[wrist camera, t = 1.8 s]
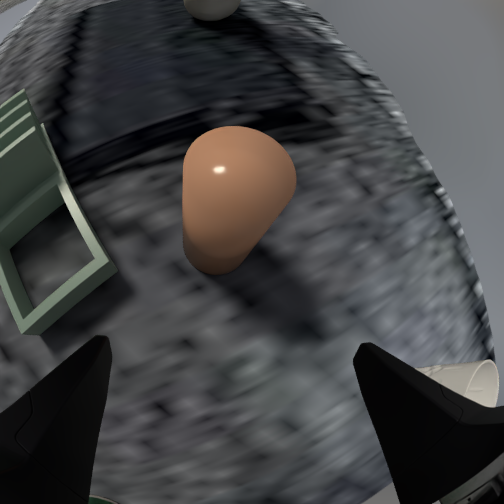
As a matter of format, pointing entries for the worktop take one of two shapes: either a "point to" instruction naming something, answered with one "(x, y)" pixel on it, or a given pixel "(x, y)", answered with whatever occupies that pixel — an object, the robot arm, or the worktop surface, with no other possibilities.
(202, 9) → the glass bottle
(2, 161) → the dish rack
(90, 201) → the worktop surface
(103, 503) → the canned tomato
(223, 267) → the orange rounded blob
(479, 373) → the white cup
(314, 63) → the worktop surface
